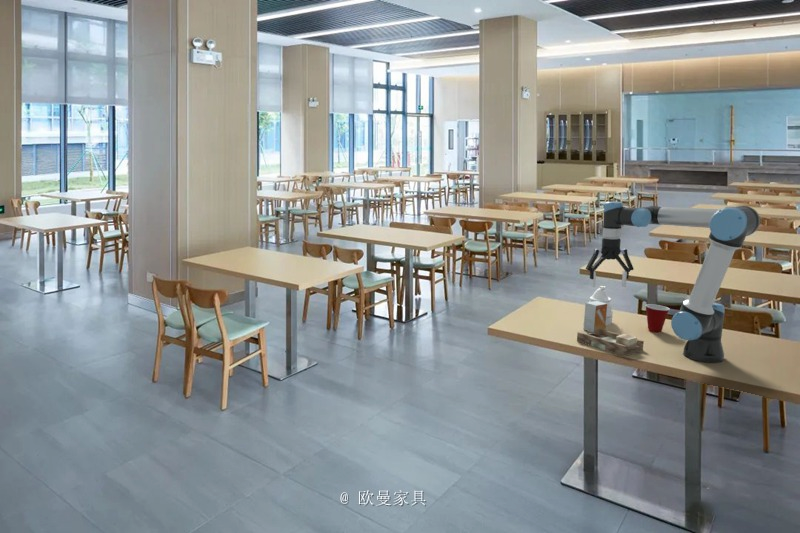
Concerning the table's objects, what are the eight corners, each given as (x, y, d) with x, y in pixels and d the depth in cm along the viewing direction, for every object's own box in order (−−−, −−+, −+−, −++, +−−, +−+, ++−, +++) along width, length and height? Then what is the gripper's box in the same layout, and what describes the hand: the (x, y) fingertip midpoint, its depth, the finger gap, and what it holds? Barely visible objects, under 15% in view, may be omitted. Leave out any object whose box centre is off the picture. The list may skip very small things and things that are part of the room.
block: (636, 346, 268) (637, 337, 267) (628, 349, 264) (628, 339, 264) (623, 342, 273) (624, 333, 272) (615, 345, 269) (616, 336, 268)
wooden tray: (642, 350, 270) (643, 341, 269) (624, 356, 262) (625, 346, 261) (595, 336, 288) (595, 327, 288) (576, 341, 281) (577, 332, 280)
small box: (593, 333, 293) (596, 305, 290) (582, 329, 298) (584, 302, 295) (605, 330, 297) (607, 303, 295) (594, 327, 302) (596, 300, 300)
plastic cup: (673, 333, 295) (675, 307, 293) (654, 335, 291) (657, 309, 289) (655, 326, 305) (658, 302, 302) (637, 328, 301) (640, 304, 298)
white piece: (616, 325, 307) (619, 288, 303) (591, 325, 305) (594, 288, 301) (604, 317, 319) (607, 282, 316) (580, 318, 317) (582, 282, 314)
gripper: (636, 236, 278) (632, 284, 282) (579, 236, 277) (577, 284, 280) (643, 238, 271) (640, 287, 274) (585, 239, 269) (583, 288, 273)
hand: (608, 286), depth 277 cm, fingers open, 13 cm apart
